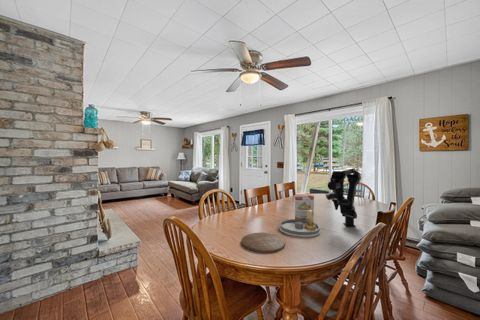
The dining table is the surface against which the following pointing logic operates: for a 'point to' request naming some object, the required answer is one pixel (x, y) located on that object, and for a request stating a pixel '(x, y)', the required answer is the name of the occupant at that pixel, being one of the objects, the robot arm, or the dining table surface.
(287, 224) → the round grey tray
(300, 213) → the cracker box
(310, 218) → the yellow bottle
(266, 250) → the trivet
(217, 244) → the dining table surface
